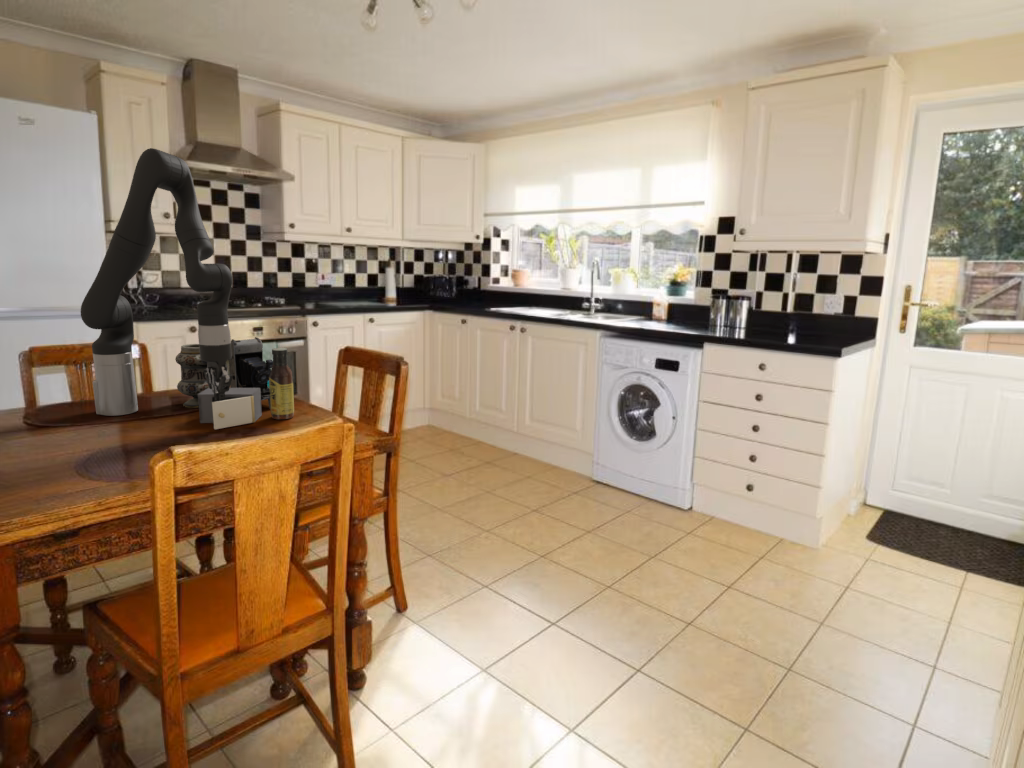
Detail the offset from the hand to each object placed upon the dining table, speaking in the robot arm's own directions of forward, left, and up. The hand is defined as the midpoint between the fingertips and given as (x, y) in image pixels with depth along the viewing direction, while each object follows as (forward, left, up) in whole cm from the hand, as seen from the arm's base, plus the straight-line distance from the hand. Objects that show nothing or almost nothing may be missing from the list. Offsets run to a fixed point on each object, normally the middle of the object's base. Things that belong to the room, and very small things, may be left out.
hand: (220, 406), depth 161 cm
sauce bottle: (+14, +8, -6) cm, 17 cm away
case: (0, +7, -6) cm, 9 cm away
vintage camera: (+3, +23, -6) cm, 24 cm away
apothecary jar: (-14, +24, -6) cm, 28 cm away
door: (+4, -1, -5) cm, 6 cm away
